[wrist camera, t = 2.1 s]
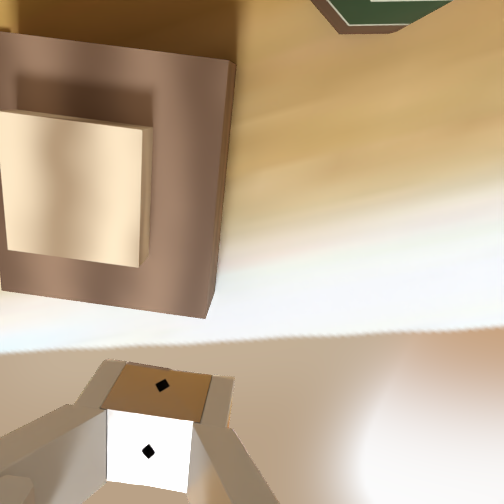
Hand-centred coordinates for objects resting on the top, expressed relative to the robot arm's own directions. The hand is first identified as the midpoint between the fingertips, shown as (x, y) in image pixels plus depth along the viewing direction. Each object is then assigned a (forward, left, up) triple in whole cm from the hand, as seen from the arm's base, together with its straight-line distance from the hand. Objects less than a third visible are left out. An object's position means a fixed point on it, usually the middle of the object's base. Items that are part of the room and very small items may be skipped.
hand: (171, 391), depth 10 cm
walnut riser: (+9, 0, -21) cm, 23 cm away
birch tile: (+10, 0, -17) cm, 20 cm away
